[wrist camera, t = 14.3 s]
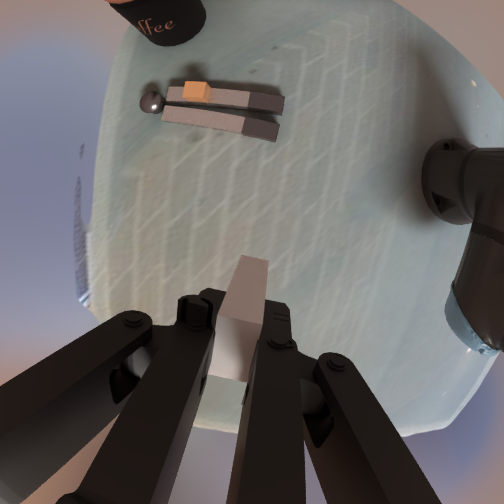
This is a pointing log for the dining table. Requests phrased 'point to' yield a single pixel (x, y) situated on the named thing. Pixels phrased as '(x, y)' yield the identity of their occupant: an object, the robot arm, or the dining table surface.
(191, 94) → the tab
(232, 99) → the tongs lower
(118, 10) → the coffee jar
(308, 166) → the dining table surface
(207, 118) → the tongs upper
